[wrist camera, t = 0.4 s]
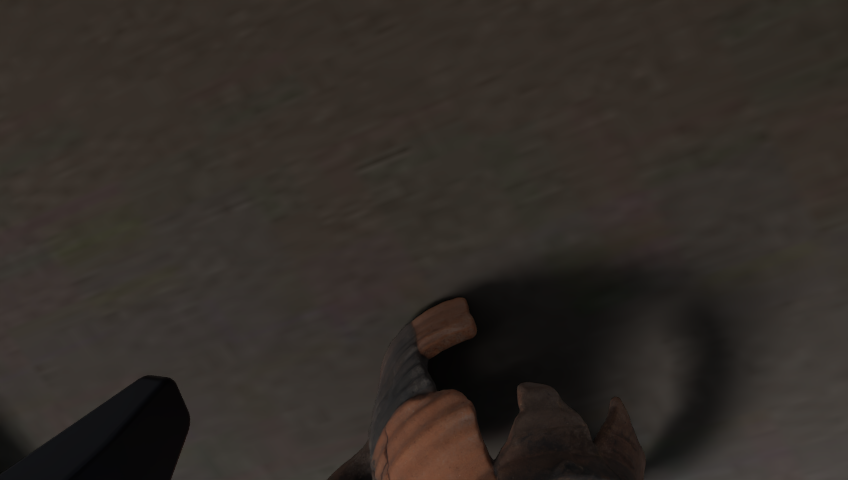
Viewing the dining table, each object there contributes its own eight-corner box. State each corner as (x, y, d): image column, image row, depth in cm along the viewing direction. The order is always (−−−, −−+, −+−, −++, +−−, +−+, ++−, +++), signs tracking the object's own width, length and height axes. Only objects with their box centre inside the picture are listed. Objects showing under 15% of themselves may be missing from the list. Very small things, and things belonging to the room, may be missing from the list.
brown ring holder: (517, 231, 26) (616, 409, 19) (616, 373, 32) (719, 550, 25) (241, 402, 28) (246, 618, 21) (380, 509, 33) (418, 706, 27)
